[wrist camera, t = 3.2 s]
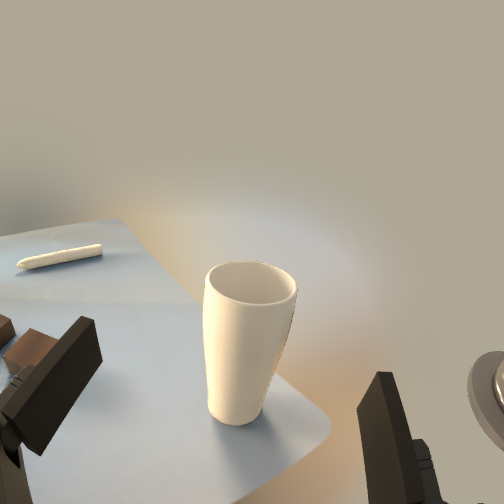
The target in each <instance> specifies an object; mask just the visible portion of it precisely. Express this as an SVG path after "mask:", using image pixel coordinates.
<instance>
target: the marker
mask: <svg viewBox="0 0 504 504" xmlns="http://www.w3.org/2000/svg"><path fill="white" fill-rule="evenodd" d="M101 254H103V251H102V245H101V244H97V245H92V246H86V247H81V248H76V249H70V250H69V249H67V250H65V251H60V252H59V251H58V252H57V251H56V252H54V253H50V254H45V255H40V256H35V257H30V258H25V259H23V260H21V261H20V262H19V263H18V264H17V267H18V268H20V269H25V270H27V269H32V268H37V267H42V266H47V265H52V264H57V263H62V262H67V261H72V260H77V259H82V258H87V257H92V256H97V255H101Z"/></svg>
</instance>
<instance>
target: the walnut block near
mask: <svg viewBox="0 0 504 504" xmlns="http://www.w3.org/2000/svg"><path fill="white" fill-rule="evenodd" d="M57 341H58V340H57V339H55V338H52V337H50V336H48V335H45V334H43V333H40V332H38V331H36V330H34V329H31V328H30V329H29V330H28V331H27V332H26V333H25V334H24V335H23V336H22V337H21V338H20V339H19V340H18V341H17V342H16V343H15V344H14V345H13V346H12V347H11V348H10V349H9V350H8V351H7V352H6V353H5V354H4V355H3V359H4V361H5V363H6V365H7V367H8V369H9V371H10V372H11V373H13V374H15V375H17V374H18V372H19V371H20V370H21V369H22V368H24V367H25V366H27V365H29V364H33V365H35V366H36V365H37V364H38V363H39V362H40V361H41V360H42V358H43V357H44V356H45V355H46V354H47V353H48V352H49V350H50V349H51V348H52V347H53V346H54V345H55V344H56V343H57Z"/></svg>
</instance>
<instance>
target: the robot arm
mask: <svg viewBox="0 0 504 504" xmlns="http://www.w3.org/2000/svg"><path fill="white" fill-rule="evenodd" d="M102 362H103V360H102V355H101V351H100V347H99V342H98V338H97V333H96V328H95V323H94V320H93V319H90V318H87V317H84V316H81V317H80V318H79V319H78V320H77V321H76V322H75V323H74V324H73V325H72V326H71V327H70V328H69V329H68V330H67V332H66V333H65V334H64V335H63V336H62V337H61V338H60V339H59V340H58V341H57V343H56V344H55V345H54V346H53V347H52V348H51V349H50V350H49V352H48V353H47V354H46V355H45V356H44V357H43V358H42V360H41V361H40V362H39V363H38V364H37V365H36V366H35V365H33V364H29V365H27V366H25V367H24V368H22V369H21V370H20V371H19V372H18V374H17V375H16V376H15V378H13V379H12V381H11V382H10V384H8V385H7V387H6V388H5V389H4V390H3V391H2V393H1V394H0V504H33V502H32V498H31V494H30V490H29V486H28V482H27V477H26V472H25V467H24V461H23V455H22V450H21V447H20V444H21V443H22V442H23V443H24V444H25V446H26V447H27V448H28V449H29V450H31V451H32V452H34V453H36V454H37V455H39V456H41V455H42V454H43V452H44V450H45V449H46V447H47V445H48V444H49V442H50V441H51V439H52V437H53V436H54V434H55V433H56V431H57V429H58V428H59V426H60V425H61V423H62V421H63V420H64V418H65V417H66V415H67V414H68V412H69V411H70V409H71V408H72V406H73V405H74V403H75V401H76V400H77V398H78V397H79V395H80V394H81V392H82V391H83V389H84V388H85V387H86V385H87V384H88V382H89V381H90V379H91V378H92V376H93V375H94V373H95V372H96V370H97V369H98V368H99V366H100V365H101V363H102ZM492 391H493V394H494V397H495V400H496V402H497V404H498V406H499V408H500V409H501V411H502V412H503V413H504V360H503V361H502V362H501V364H500V365H499V366H498V368H497V369H496V371H495V372H494V374H493V377H492ZM357 415H358V420H359V427H360V434H361V441H362V448H363V456H364V464H365V472H366V481H367V489H368V500H369V504H448V503H447V502H445V501H443V500H442V498H441V495H440V490H439V486H438V482H437V478H436V474H435V470H434V468H433V467H434V466H433V463H432V460H431V455H430V451H429V448H428V446H427V445H426V444H425V442H424V441H423V440H422V439H414V440H412V437H411V434H410V430H409V426H408V423H407V419H406V416H405V412H404V409H403V406H402V402H401V399H400V396H399V392H398V389H397V386H396V383H395V380H394V377H393V374H392V372H377V373H376V375H375V377H374V379H373V381H372V383H371V384H370V386H369V388H368V390H367V392H366V394H365V395H364V397H363V399H362V400H361V403H360V404H359V406H358V407H357ZM479 504H483V503H479Z"/></svg>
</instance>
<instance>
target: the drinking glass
mask: <svg viewBox="0 0 504 504" xmlns="http://www.w3.org/2000/svg"><path fill="white" fill-rule="evenodd" d="M297 291H298V288H297V284H296V282H295V280H294V279H293V278H292V277H291V276H290V275H289V274H288V273H286V272H285V271H283V270H282V269H280V268H278V267H275V266H273V265H270V264H266V263H262V262H257V261H247V260H237V261H229V262H225V263H221V264H219V265H217V266H215V267H213V268H212V269H211V270H210V271H209V272H208V274H207V276H206V283H205V291H204V302H203V340H204V352H205V364H206V376H207V388H208V408H209V410H210V412H211V414H212V415H213V416H214V417H215V418H216V419H217V420H218V421H220V422H222V423H224V424H227V425H233V426H240V425H245V424H248V423H250V422H252V421H253V420H254V419H255V418H256V417H257V416H258V415H259V413H260V411H261V408H262V404H263V400H264V398H265V395H266V393H267V390H268V387H269V385H270V382H271V380H272V377H273V375H274V372H275V369H276V366H277V364H278V362H279V359H280V357H281V354H282V351H283V348H284V346H285V343H286V340H287V337H288V334H289V330H290V327H291V322H292V318H293V314H294V308H295V303H296V297H297Z"/></svg>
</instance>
